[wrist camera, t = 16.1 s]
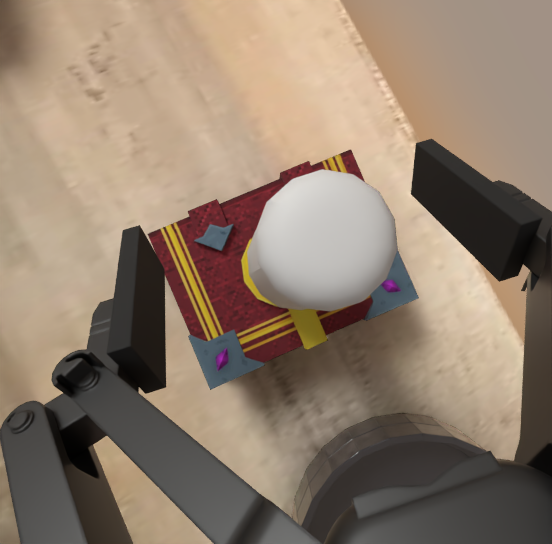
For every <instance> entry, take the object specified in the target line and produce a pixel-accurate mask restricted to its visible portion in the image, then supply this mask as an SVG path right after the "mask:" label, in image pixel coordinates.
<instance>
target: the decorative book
mask: <svg viewBox="0 0 552 544" xmlns="http://www.w3.org/2000/svg"><path fill="white" fill-rule="evenodd" d="M322 169H323V170H330V171H336V172H342V173H348V174H353V175H355V176H356V177H358V178H359V179H361V180H362V181H364V179H363V176H362V174H361V172H360V169H359V167H358V165H357V162H356V160H355V158H354V156H353V153H352V151H351V150H348V151H346V152H343V153H341V154H339V155H336V156H334V157H331V158H329V159H327V160H324V161H322V162H319V163H317V164H315V165H312V166H311V165H310V162H309V161H308V162H305V163H303V164H300V165H298V166H296V167H293V168H291V169H288V170H286V171H284V172H281V173H280V178H279V180H276V181H274V182H271V183H269V184H267V185H264V186H262V187H259V188H257V189H255V190H252V191H250V192H247V193H245V194H243V195H240V196H238V197H235V198H233V199H231V200H228V201H226V202H223V203H221V204H219V202H218V201H217V199H216V200H214V201H211V202H209V203H207V204H204V205H202V206H199V207H197V208H195V209H192V210H190V211H188V214H189V216H190V217H187V218H185V219H183V220H180V221H178V222H175V223H173V224H171V225H168V226H166V227H163V228H161V229H159V230H156V231H154V232H151V233H149V234H148V236H149V238H150V241H151V243H152V245H153V248H154V250H155V252H156V255H157V256H158V258H159V260H160V262H161V263H162V265H163V267H164V269H165V276H166V278H167V280H168V283H169V285H170V287H171V290H172V292H173V295H174V297H175V299H176V302H177V304H178V306H179V309H180V311H181V313H182V316H183V318H184V320H185V323H186V325H187V327H188V330H189V332H190V334H191V335H189V336H188V337H189V340H190V342H191V344H192V347H193V349H194V352H195V354H196V356H197V359H198V361H199V364H200V366H201V368H202V371H203V373H204V376H205V378H206V380H207V383H208V385H209V388H210V390H211V389H213V388H215V387H217V386H220V385H222V384H224V383H226V382H229V381H231V380H233V379H235V378H238V377H240V376H242V375H244V374H246V373H249V372H251V371H253V370H255V369H258V368H260V367H262V366H264V365H265V363H264V362H266V361H269V360H271V359H273V358H276V357H278V356H280V355H282V354H285V353H287V352H289V351H292V350H294V349H296V348H298V347H301V346H304V348H305V349H306V350H307V349H310V348H312V347H314V346H316V345H319V344H321V343H323V342H325V341H328V339H327V337H326V335H328V334H330V333H333V332H335V331H337V330H339V329H342V328H344V327H346V326H348V325H351V324H353V323H355V322H358V321H360V320H362V319H363V320H366V321H367V320H369V319H371V318H374V317H376V316H378V315H381V314H383V313H385V312H388V311H390V310H392V309H395V308H397V307H399V306H402V305H404V304H406V303H409V302H411V301H413V300H415V299H418V298H419V297H418V295H417V293H416V290H415V288H414V286H413V284H412V281H411V279H410V277H409V275H408V272H407V270H406V268H405V265H404V263H403V261H402V259H401V256H400V254H399V252H398V250H397V253H396V255H395V258H394V260H393V263H392V266H391V268H390V271H389V273H388V276H387V279H386V280H385V281H384V282H383V283H381V284H380V285H379V286H378V287H377V288H376V289H375V290H374V291H373V292H372V293H371V294H370V295H369V296H368V297H367V298H366V299H365V300H364V301H362V302H360V303H357V304H353V305H350V306H347V307H344V308H340V309H337V310H334V311H323V310H315V309H304V310H296V309H288V308H281V307H278V306H277V305H275V304H274V303H272V302H271V301H269V300H268V299H266V298H265V297H264V296H262V295H261V294H260V293H259V291H258V289H257V288H256V286H255V284H254V283H253V281H252V279H251V278H250V276H249V270H248V257H247V251H248V249H249V246H250V243H251V241H252V238H253V235H254V233H255V231H256V229H257V226H258V224H259V221H260V218H261V216H262V213H263V210H264V208H265V205H266V202H267V201H269V200H270V199H271V198H272V197H273V196H274V195H275V194H276V193H277V192H278V191H280V190H281V189H282V188H283V187H284V186H285V185H286V184H287V183H288V182H290V181H291V180H292V179H294V178H297V177H300V176H303V175H306V174H309V173H313V172H316V171H319V170H322ZM364 182H365V181H364Z"/></svg>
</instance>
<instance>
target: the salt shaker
mask: <svg viewBox="0 0 552 544" xmlns="http://www.w3.org/2000/svg"><path fill="white" fill-rule="evenodd" d="M397 250H398V248H397V238H396V228H395V219H394V217H393V215H392V213H391V212H390V210H389V208H388V206H387V205H386V203H385V201H384V199H383V198H382V196H381V194H380V192H379V191H377V190H376V189H374V188H373V187H371V186H370V185H368V184H367V183H365V182H364V181H362V180H361V179H359V178H358V177H356V176H355V175H353V174H348V173H342V172H336V171H330V170H323V169H322V170H319V171H316V172H313V173H309V174H306V175H303V176H300V177H297V178H294V179H292V180H291V181H290V182H288V183H287V184H286V185H285V186H284V187H283V188H282V189H281V190H280V191H278V192H277V193H276V194H275V195H274V196H273V197H272V198H271V199H270V200H269V201H267V202H266V205H265V208H264V210H263V213H262V216H261V218H260V221H259V224H258V226H257V229H256V231H255V233H254V235H253V238H252V241H251V243H250V246H249V249H248V251H247V257H248V270H249V276H250V278H251V279H252V281H253V283H254V284H255V286H256V288H257V289H258V291H259V293H260V294H261V295H262V296H264V297H265V298H266V299H268V300H269V301H271V302H272V303H274V304H275V305H277V306H278V307H281V308H288V309H296V310H304V309H315V310H323V311H334V310H337V309H340V308H344V307H347V306H350V305H353V304H357V303H360V302H362V301H364V300H365V299H366V298H367V297H368V296H369V295H370V294H371V293H372V292H373V291H374V290H375V289H376V288H377V287H378V286H379V285H380V284H381V283H383V282H384V281H385V280H386V279H387V276H388V273H389V271H390V268H391V266H392V263H393V260H394V258H395V255H396V253H397Z"/></svg>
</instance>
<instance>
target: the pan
mask: <svg viewBox="0 0 552 544" xmlns="http://www.w3.org/2000/svg"><path fill="white" fill-rule="evenodd" d="M485 452H487V451H486V450H484V449H483V448H482V447H481V446H479V445H478V444H477V443H475V442H474V441H473V440H471V439H470V438H469V437H468V436H466V435H465V434H464V433H462V432H461V431H460V430H458V429H457V428H455V427H453V426H451V425H449V424H446V423H444V422H441V421H439V420H437V419H434V418H432V417H428V416H420V415H412V414H405V413H402V414H401V413H399V414H392V415H385V416H378V417H374V418H370V419H368V420H365V421H363V422H361V423H358V424H356V425H354V426H351V427H349V428H347V429H345V430H344V431H343V432H341V433H340V434H339V435H338V436H336V437H335V438H334V439H333V440H331V441H330V442H329V443H327V444H326V445H325V446H324V447H323V448H322V449H321V451H320V452H319V453H318V455H317V456H316V457H315V459H314V460H313V461H312V463H311V464H310V465H309V466H308V468H307V469H306V471H305V474H304V476H303V478H302V481H301V483H300V486H299V488H298V491H297V493H296V496H295V499H294V507H293V514H292V519H293V520H294V521H296V522H297V523H298V524H299V525H300V526H302V527H303V528H304V529H305V530H306V531H308V532H309V533H310V534H311V535H312V536H314V537H315V538H316V539H317V540H318V541H320V542H321V543H322V544H324V543H325V540H326V538H327V535H328V533H329V531H330V530H331V528H332V526H333V524H334V523H335V522H336V520H337V519H338V517H339V516H340V515H341V514H342V513H343V512H344V511H345V510H347V509H348V508H349V507H350V506H352V499H351V498H352V497H354V496H357V495H360V494H363V493H366V492H369V491H372V490H375V489H378V488H381V487H384V486H405V485H426V484H428V483H430V482H431V481H433V480H434V479H435V478H437V477H438V476H439V475H440V474H442V473H443V472H444V471H446V470H447V469H448V468H450V467H451V466H452V465H453V464H455V463H456V462H458V461H461V460H464V459H467V458H470V457H473V456H476V455H479V454H482V453H485ZM495 459H496V458H495Z"/></svg>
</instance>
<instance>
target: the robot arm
mask: <svg viewBox="0 0 552 544" xmlns="http://www.w3.org/2000/svg"><path fill="white" fill-rule="evenodd" d="M411 195H412V196H413V197H415V198H416V199H417V200H418V201H419V202H420V203H421V204H422V205H423V206H424V207H425V208H426V209H427V210H428V211H429V212H430V213H431V214H432V215H433V216H434V217H435V218H436V219H437V220H438V221H439V222H440V223H441V224H442V225H443V226H444V227H445V228H446V229H447V230H448V231H449V232H450V233H451V234H452V235H453V236H454V237H455V238H456V239H457V240H458V241H459V242H460V243H461V244H462V245H463V246H464V247H465V248H466V249H467V250H468V251H469V252H470V253H471V254H472V255H473V256H474V257H475V258H476V259H477V260H478V261H479V262H480V263H481V264H482V265H483V266H484V267H485V268H486V269H487V270H488V271H489V272H490V273H491V274H492V275H493V276H494V277H495V278H496V279H497V280H498V281H503V280H506V279H509V278H512V277H515V276H518V274H519V272H520V270H521V267H522V265H523V264H524V265H525V266H526V267H527V268H528V269H529V270H530V272H529V275H528V277H527V279H526V281H525V283H524V285H523V288H522V290H521V291H525V290H526V288H527V297H526V298H527V299H526V322H525V344H524V364H523V386H522V408H521V430H520V440H519V445H518V448H517V451H516V454H515V459H514V461H510V460H503V459H495V457H494V456H493V454H492V453H491V451H488V452H485V453H482V454H479V455H476V456H473V457H470V458H467V459H464V460H461V461H458V462H456V463H455V464H453V465H452V466H451V467H450V468H448V469H447V470H446V471H444V472H443V473H442V474H440V475H439V476H438V477H437V478H435V479H434V480H433V481H431V482H430V483H428V484H426V485H405V486H384V487H381V488H378V489H375V490H372V491H369V492H366V493H363V494H360V495H357V496H354V497H352V498H351V499H352V506H350V507H349V508H348V509H347V510H345V511H344V512H343V513H342V514H341V515H340V516H339V517H338V519H337V520H336V522H335V523H334V524H333V526H332V528H331V530H330V531H329V533H328V535H327V538H326V540H325V543H324V544H552V212H551V211H550V210H548V209H547V208H545V207H544V206H542V205H541V204H540V203H538V202H537V201H535V200H534V199H531V198H530V197H529V196H528V195H526V194H525V193H524V194H523V193H522V191H520V190H519V189H517V188H516V187H514V186H513V185H511V184H508V183H505V182H502V181H499V180H498V181H495V182H492V181H490V180H489V179H487V178H486V177H485V176H483V175H482V174H480V173H479V172H478V171H476V170H475V169H473V168H472V167H471V166H469V165H468V164H466V163H465V162H463V161H462V160H461V159H459V158H458V157H457V156H455V155H454V154H452V153H451V152H449V151H448V150H447V149H445V148H444V147H443V146H441V145H440V144H438V143H437V142H436V141H434V140H433V139H429V140H426V141H422V142H419V143H416V149H415V159H414V169H413V179H412V190H411ZM91 326H92V327H91V328H90V336H89V339H88V344H87V350H77V351H75V352H72V353H70V354H69V355H67V356H66V357H64V358H63V359H62V360H61V361H60V362H59V363H58V364H57V366H56V367H55V369H54V371H53V373H52V382H53V385H54V386H55V387H56V388H58V389H59V390H60V391H62V392H63V394H61V395H60V396H58V397H56V398H55V399H53V400H51V401H50V402H48V403H47V404H45V405H43V404H42V403H40V402H37V401H30V402H26V403H24V404H22V405H20V406H18V407H17V408H16V409H15V410H14V411H12V412H11V413H10V414H9V416H8V417H7V418H6V419H5V421H4V422H3V425H2V427H1V429H0V441H1V446H2V451H3V456H4V461H5V466H6V472H7V477H8V482H9V487H10V492H11V497H12V502H13V507H14V512H15V517H16V522H17V527H18V532H19V537H20V542H21V544H133V542H132V540H131V537H130V535H129V532H128V530H127V527H126V525H125V523H124V520H123V518H122V515H121V513H120V510H119V508H118V505H117V503H116V501H115V498H114V496H113V493H112V491H111V488H110V486H109V483H108V481H107V478H106V476H105V474H104V471H103V469H102V466H101V464H100V461H99V459H98V456H97V454H96V452H95V449H94V447H93V444H95V443H96V442H98V441H99V440H101V439H102V438H104V437H105V436H108V437H109V438H110V439H111V440H112V441H113V442H114V443H115V444H116V445H117V446H118V447H119V448H120V449H121V450H122V451H123V452H124V453H125V454H126V455H127V456H128V457H129V458H130V459H131V460H132V461H133V462H134V463H135V464H136V465H137V466H138V467H139V468H140V469H141V470H142V471H143V472H144V473H145V474H146V475H147V476H148V477H149V478H150V479H151V480H152V481H153V482H154V483H155V484H156V485H157V486H158V487H159V488H160V489H161V491H162V492H163V493H164V494H165V495H166V496H167V497H168V498H169V499H170V500H171V501H172V502H173V503H174V504H175V505H176V506H177V507H178V508H179V509H180V510H181V511H182V512H183V513H184V514H185V515H186V516H187V517H188V518H189V519H190V520H191V521H192V522H193V523H194V524H195V525H196V526H197V527H198V528H199V529H200V530H201V531H202V532H203V533H204V534H205V535H206V536H207V537H208V538H209V539H210V540H211V541H212V542H213V543H214V544H322V543H321V542H320V541H318V540H317V539H316V538H315V537H314V536H312V535H311V534H310V533H309V532H308V531H306V530H305V529H304V528H303V527H302V526H300V525H299V524H298V523H297V522H296V521H294V520H293V519H292V518H291V517H289V516H288V515H287V514H286V513H285V512H283V511H282V510H281V509H280V508H279V507H277V506H276V505H275V504H274V503H272V502H271V501H270V500H268V499H266V498H265V497H263V496H262V495H261V494H259V493H258V492H257V491H256V490H255V489H253V488H252V487H251V486H250V485H249V484H247V483H246V482H245V481H244V480H243V479H241V478H240V477H239V476H238V475H237V474H235V473H234V472H233V471H232V470H231V469H229V468H228V467H227V466H226V465H225V464H223V463H222V462H221V461H220V460H218V459H217V458H216V457H215V456H214V455H212V454H211V453H210V452H209V451H208V450H206V449H205V448H204V447H203V446H202V445H200V444H199V443H198V442H197V441H196V440H194V439H193V438H192V437H191V436H190V435H188V434H187V433H186V432H185V431H184V430H182V429H181V428H180V427H179V426H178V425H176V424H175V423H174V422H173V421H172V420H170V419H169V418H168V417H167V416H166V415H164V414H163V413H162V412H161V411H160V410H158V409H157V408H156V407H155V406H154V405H152V404H151V403H150V402H149V401H148V400H146V399H145V398H144V397H143V396H141V395H140V394H139V393H138V391H139V387H140V388H141V389H142V390H143V392H144V393H145V394H146V393H149V392H153V391H156V390H159V389H162V388H165V387H166V349H165V269H164V267H163V265H162V263H161V262H160V260H159V258H158V256H157V255H156V253H155V251H154V250H153V248H152V246H151V244H150V243H149V241H148V239H147V237H146V236H145V234H144V232H143V230H142V229H141V227H140V225H139V226H136V227H133V228H129V229H126V230H123V233H122V241H121V248H120V256H119V263H118V271H117V278H116V286H115V293H114V298H113V299H110V300H107V301H104V302H100V303H99V305H98V307H97V308H96V310H95V312H94V313H93V317H92V323H91Z"/></svg>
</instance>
